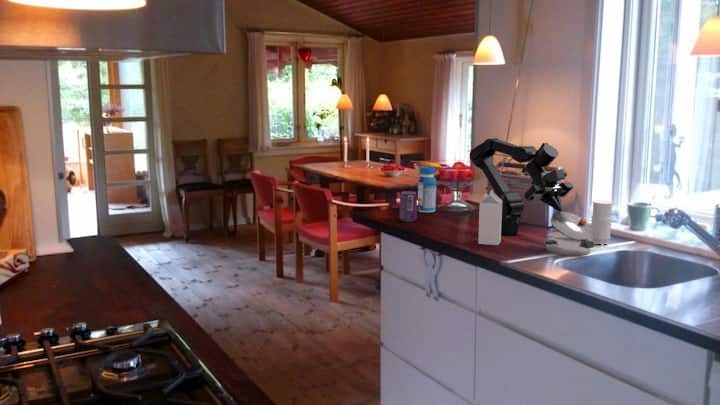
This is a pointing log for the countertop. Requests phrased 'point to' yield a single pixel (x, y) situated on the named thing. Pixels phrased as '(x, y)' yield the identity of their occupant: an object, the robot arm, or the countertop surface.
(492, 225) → the milk carton
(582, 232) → the cooker lid
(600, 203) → the white cylinder
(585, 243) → the cooker pot
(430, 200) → the beverage bottle
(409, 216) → the beverage can
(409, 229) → the countertop surface
